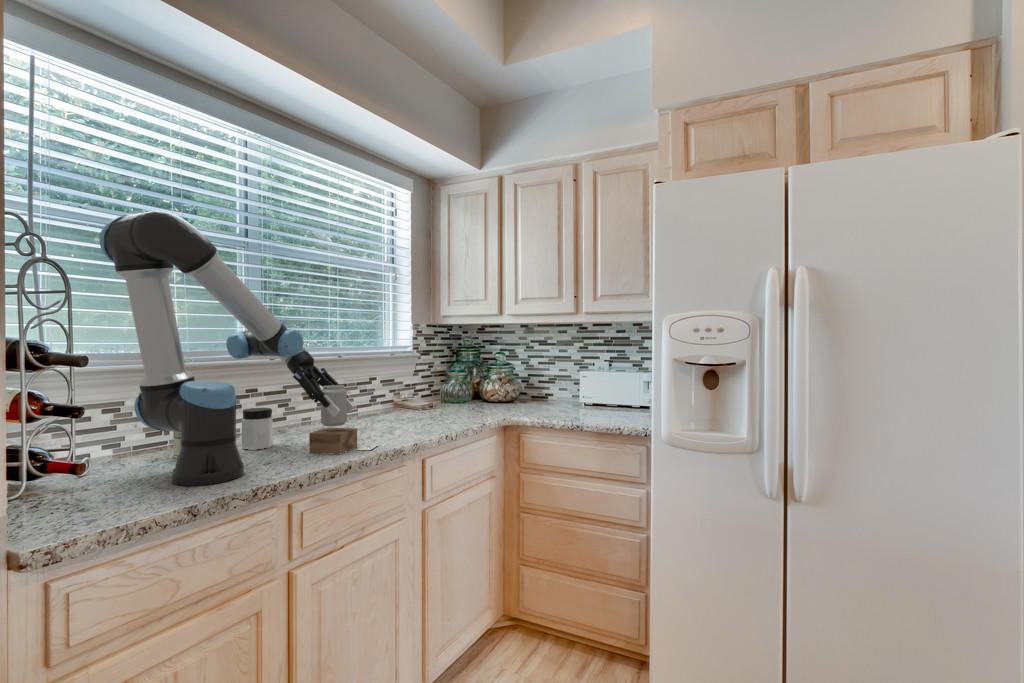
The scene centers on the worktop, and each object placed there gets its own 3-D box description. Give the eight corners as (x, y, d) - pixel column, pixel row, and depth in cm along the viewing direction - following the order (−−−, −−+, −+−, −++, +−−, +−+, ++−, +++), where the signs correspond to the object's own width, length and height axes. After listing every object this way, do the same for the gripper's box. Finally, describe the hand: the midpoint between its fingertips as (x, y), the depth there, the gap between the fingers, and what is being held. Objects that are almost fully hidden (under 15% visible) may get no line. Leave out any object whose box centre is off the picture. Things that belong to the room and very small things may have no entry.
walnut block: (339, 454, 149) (339, 434, 149) (309, 453, 151) (309, 432, 151) (357, 447, 159) (357, 428, 159) (328, 446, 161) (328, 427, 161)
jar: (246, 451, 154) (246, 412, 154) (238, 447, 159) (237, 409, 159) (277, 447, 160) (276, 409, 160) (268, 443, 166) (267, 406, 166)
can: (351, 423, 158) (351, 384, 158) (338, 427, 151) (337, 386, 151) (330, 422, 160) (329, 384, 160) (315, 426, 152) (315, 386, 152)
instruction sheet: (370, 450, 154) (370, 450, 154) (354, 450, 154) (354, 449, 154) (379, 445, 162) (379, 444, 162) (364, 445, 162) (364, 444, 162)
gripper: (308, 365, 168) (353, 415, 165) (266, 368, 148) (316, 425, 145) (323, 349, 167) (368, 399, 164) (282, 350, 147) (333, 407, 144)
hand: (344, 411), depth 154 cm, fingers closed on can, 7 cm apart
